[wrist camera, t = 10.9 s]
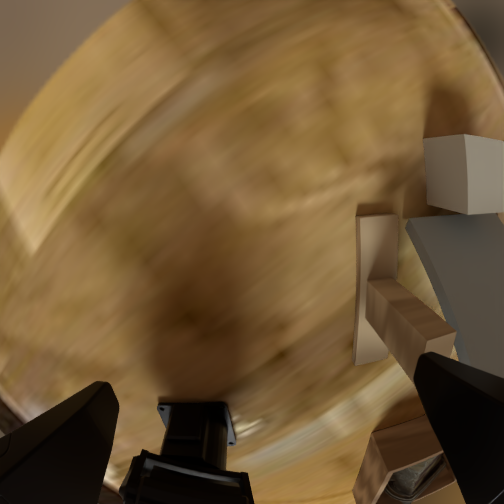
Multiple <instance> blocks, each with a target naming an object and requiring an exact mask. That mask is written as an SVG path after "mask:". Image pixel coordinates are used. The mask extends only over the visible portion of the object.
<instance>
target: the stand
mask: <svg viewBox="0 0 504 504" xmlns="http://www.w3.org/2000/svg"><path fill="white" fill-rule="evenodd" d="M496 214H497V216H498V217H499V219H500V220H501V222H502V223H503V225H504V212H501V213H496ZM356 243H357V279H356V311H355V329H354V344H353V356H352V361H353V363H354V365H355V366H356V365H361V364H366V363H370V362H374V361H378V360H383V359H387V357H388V351H390V352H391V353H392V355H393V356H394V357H395V359H396V360H397V361H398V363H399V364H400V366H401V367H402V368H403V370H404V371H405V373H406V374H407V375H408V377H409V378H410V380H411V381H412V382H413V384H414V380H413V376H414V372H415V368H416V364H417V361H418V357H419V356H420V355H421V354H423V353H426V352H430V351H432V352H435V353H438V354H440V355H443V356H446V357H448V358H450V356H451V352H452V349H453V345H454V341H455V337H456V333H457V331H456V330H455V329H454V328H452V327H451V326H450V325H449V324H448V323H447V322H446V321H444V320H443V319H442V318H441V317H440V316H439V315H437V314H436V313H435V312H434V311H433V310H431V309H430V308H429V307H428V306H427V305H425V304H424V303H423V302H422V301H421V300H419V299H418V298H417V297H416V296H414V295H413V294H412V293H411V292H409V291H408V290H407V289H406V288H404V287H403V286H402V285H401V284H399V283H398V282H397V281H396V280H397V262H398V214H395V213H386V214H373V215H361V216H356ZM414 385H415V384H414Z"/></svg>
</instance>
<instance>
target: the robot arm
mask: <svg viewBox="0 0 504 504" xmlns="http://www.w3.org/2000/svg"><path fill="white" fill-rule="evenodd" d="M413 380H414V384H415V387H416V389H417V392H418V394H419V397H420V399H421V402H422V405H423V407H424V410H425V413H426V415H427V418H428V420H429V423H430V425H431V427H432V429H433V431H434V433H435V435H436V437H437V439H438V441H439V443H440V445H441V447H442V450H443V452H444V454H445V456H446V458H447V460H448V463H449V465H450V467H451V469H452V471H453V474H454V476H455V478H456V481H457V483H458V485H459V488H460V490H461V493H462V495H463V498H464V500H465V503H466V504H504V378H502V377H499V376H496V375H493V374H491V373H488V372H485V371H483V370H480V369H477V368H475V367H472V366H469V365H467V364H464V363H461V362H459V361H456V360H453V359H451V358H448V357H446V356H443V355H440V354H438V353H435V352H432V351H430V352H426V353H423V354H421V355H420V356H419V357H418V361H417V364H416V368H415V372H414V376H413ZM162 407H163V408H162ZM221 407H223V408H221ZM157 410H158V412H159V414H160V416H161V419H162V421H163V423H164V425H165V427H166V432H165V435H164V439H163V443H162V447H161V451H160V455H157V454H153V453H150V452H149V451H147V450H144V449H142V451H141V454H140V455H138V456H135V457H133V459H132V462H131V465H130V468H129V471H128V473H127V475H126V477H125V479H124V480H123V482H122V484H121V486H120V488H119V494H120V495H121V497H122V498H123V504H254V500H253V495H252V491H251V486H250V481H249V476H248V473H246V472H241V473H239V472H233V471H226V460H227V446H234V445H236V438H235V434H234V430H233V426H232V422H231V418H230V414H229V410H228V406H227V404H226V403H224V402H208V403H158V406H157ZM118 413H119V402H118V400H117V398H116V395H115V393H114V391H113V389H112V386H111V385H110V383H108V382H103V381H96V382H94V383H92V384H91V385H89V386H87V387H86V388H84V389H82V390H81V391H79V392H78V393H76V394H74V395H73V396H71V397H69V398H68V399H66V400H64V401H63V402H61V403H60V404H58V405H56V406H55V407H53V408H51V409H50V410H48V411H46V412H45V413H43V414H41V415H39V416H38V417H36V418H34V419H33V420H31V421H29V422H28V423H26V424H24V425H22V426H21V427H19V428H17V429H16V430H14V431H12V433H9V434H7V435H5V436H3V437H2V438H0V504H97V503H98V499H99V495H100V491H101V487H102V484H103V480H104V476H105V472H106V469H107V465H108V462H109V458H110V454H111V451H112V446H113V440H114V435H115V429H116V424H117V418H118Z"/></svg>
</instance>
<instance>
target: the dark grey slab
mask: <svg viewBox="0 0 504 504" xmlns="http://www.w3.org/2000/svg"><path fill="white" fill-rule="evenodd" d="M405 229H406V231H407V233H408V235H409V237H410V239H411V240H412V243H413V245H414V247H415V249H416V251H417V253H418V255H419V257H420V259H421V261H422V263H423V266H424V268H425V270H426V272H427V275H428V277H429V279H430V281H431V284H432V286H433V289H434V291H435V293H436V296H437V298H438V301H439V303H440V306H441V309H442V311H443V314H444V317H445V319H446V322H447V323H448V324H449V325H450V326H451V327H452V328H454V329H455V330H456V331H457V333H456V337H455V341H454V346H455V349H456V352H457V355H458V359H459V362H461V363H464V364H467V365H469V366H472V367H475V368H477V369H480V370H483V371H485V372H488V373H491V374H493V375H496V376H499V377H502V378H504V225H503V223H502V222H501V220H500V219H499V217H498V216H497V214H496V213H486V214H472V215H467V214H457V215H444V216H431V217H419V218H409V220H408V222H407V225H406V227H405Z"/></svg>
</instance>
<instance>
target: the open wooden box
mask: <svg viewBox="0 0 504 504" xmlns="http://www.w3.org/2000/svg"><path fill="white" fill-rule="evenodd" d="M441 453H443V450H442V447H441V445H440V443H439V441H438V439H437V437H436V435H435V433H434V431H433V429H432V427H431V425H430V423H429V420H428V418H427V415H424V416H421V417H419V418H416V419H413V420H411V421H408V422H405V423H402V424H399V425H396V426H393V427H390V428H386V429H383V430H380V431H376V432H373V433H372V434H371V437H370V441H369V444H368V447H367V450H366V454H365V457H364V460H363V463H362V466H361V469H360V471H359V474H358V477H357V480H356V482H355V485H354V488H353V490H352V491H353V495H354V498H355V501H356V504H403V503H402V502H401V501H399V500H396V499H394V498H391V497H390V495H388V494H387V493H385V490H384V488H385V487H386V485H387V483H388V481H389V480H390V478H391V476H392V474H393V473H394V472H397V471H400V470H403V469H405V468H408V467H411V466H413V465H416V464H418V463H421V462H423V461H425V460H428V459H430V458H432V457H434V456H437V455H439V454H441ZM441 457H442V458H444V461H445V462H446V467H445V468H444V470H443V471H441V472H440V473H439V475H438V476H437V477H436V478H435V479H434V480H433V481H432V482H431V484H430V485H429V486H428V487H427V488H426V489H425V490H424V491H423V492H422V493H421V494H420V495H419V496H418V497H417V498H416V499H415V500H414V501H417V500H419V499H421V498H423V497H426V496H428V495H430V494H432V493H434V492H436V491H439V490H440V489H442V488H445V487H447V486H449V485H450V484H452V483H454V482H456V478H455V476H454V474H453V471H452V469H451V467H450V465H449V463H448V460H447V458H446V456H445V454H444V453H443V454H442V456H441ZM414 501H413V502H414Z"/></svg>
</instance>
